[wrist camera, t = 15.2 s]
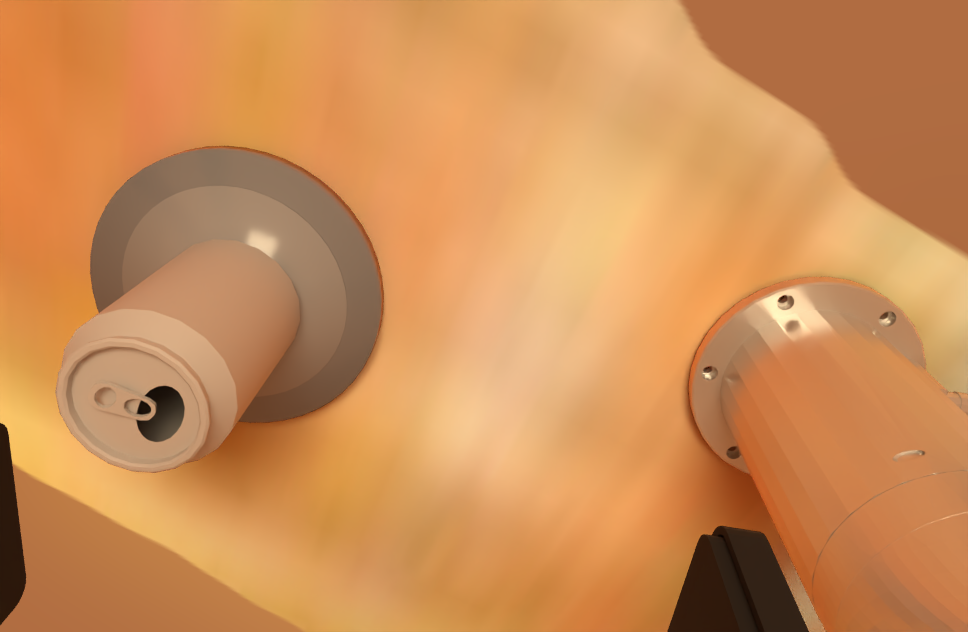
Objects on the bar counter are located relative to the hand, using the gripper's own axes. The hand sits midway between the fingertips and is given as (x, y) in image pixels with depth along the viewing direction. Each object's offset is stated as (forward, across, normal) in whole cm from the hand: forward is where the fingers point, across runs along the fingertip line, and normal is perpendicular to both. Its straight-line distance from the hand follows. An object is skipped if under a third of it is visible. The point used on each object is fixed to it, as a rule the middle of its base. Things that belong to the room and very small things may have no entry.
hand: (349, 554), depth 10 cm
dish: (+30, +12, +10) cm, 34 cm away
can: (+29, +12, +10) cm, 33 cm away
